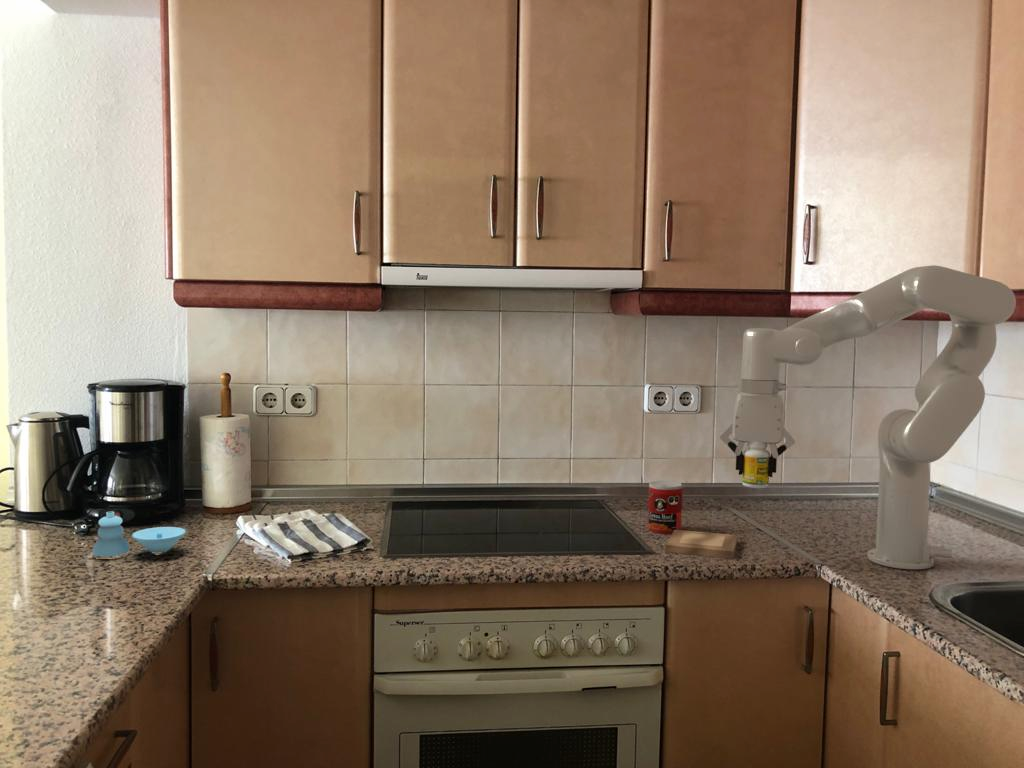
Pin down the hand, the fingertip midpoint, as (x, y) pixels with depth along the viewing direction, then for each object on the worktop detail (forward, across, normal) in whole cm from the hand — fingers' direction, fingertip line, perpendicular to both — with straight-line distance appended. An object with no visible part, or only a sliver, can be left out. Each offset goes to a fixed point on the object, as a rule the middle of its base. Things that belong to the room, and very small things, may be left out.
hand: (755, 473), depth 181 cm
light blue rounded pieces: (+19, +120, +40) cm, 128 cm away
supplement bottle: (+3, 0, 0) cm, 3 cm away
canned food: (+18, +20, -17) cm, 32 cm away
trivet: (+18, +11, -5) cm, 21 cm away
